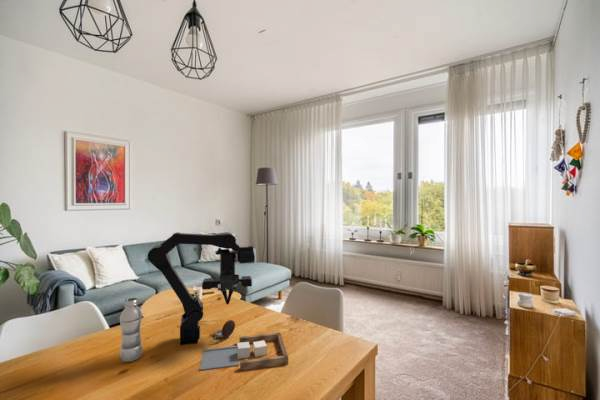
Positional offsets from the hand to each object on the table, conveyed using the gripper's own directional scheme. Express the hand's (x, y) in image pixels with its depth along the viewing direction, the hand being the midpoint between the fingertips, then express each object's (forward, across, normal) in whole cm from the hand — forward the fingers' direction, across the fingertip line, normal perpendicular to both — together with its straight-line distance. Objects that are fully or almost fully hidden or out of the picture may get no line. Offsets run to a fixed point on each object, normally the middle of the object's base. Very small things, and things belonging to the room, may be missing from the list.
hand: (227, 304), depth 113 cm
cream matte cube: (+12, +6, -17) cm, 21 cm away
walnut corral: (+12, +12, -17) cm, 24 cm away
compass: (+12, -2, -2) cm, 13 cm away
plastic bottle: (+12, -31, -11) cm, 35 cm away
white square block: (+12, +11, -17) cm, 24 cm away
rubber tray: (+12, -2, -17) cm, 21 cm away
